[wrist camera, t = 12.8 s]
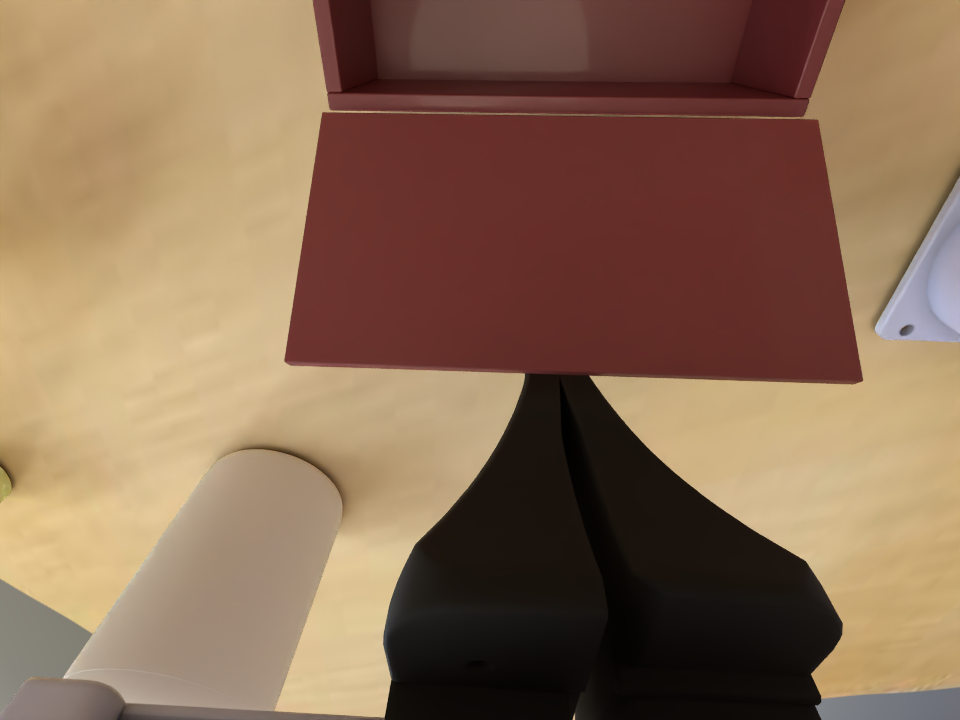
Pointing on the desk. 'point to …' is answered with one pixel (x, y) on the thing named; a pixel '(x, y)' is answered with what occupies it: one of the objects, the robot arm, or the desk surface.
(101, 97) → the desk surface
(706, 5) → the carton
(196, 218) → the desk surface
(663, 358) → the flap
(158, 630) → the pill bottle
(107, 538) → the desk surface
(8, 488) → the tube
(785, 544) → the desk surface
